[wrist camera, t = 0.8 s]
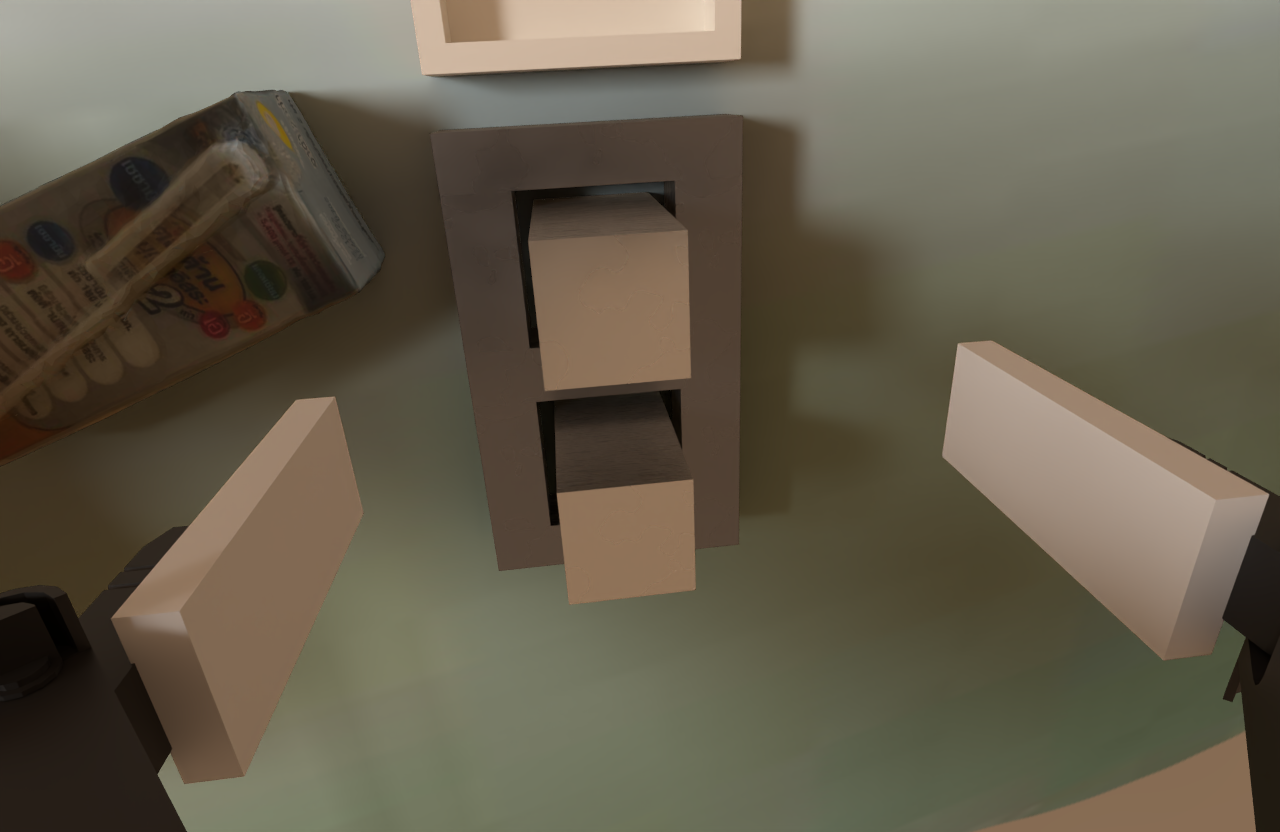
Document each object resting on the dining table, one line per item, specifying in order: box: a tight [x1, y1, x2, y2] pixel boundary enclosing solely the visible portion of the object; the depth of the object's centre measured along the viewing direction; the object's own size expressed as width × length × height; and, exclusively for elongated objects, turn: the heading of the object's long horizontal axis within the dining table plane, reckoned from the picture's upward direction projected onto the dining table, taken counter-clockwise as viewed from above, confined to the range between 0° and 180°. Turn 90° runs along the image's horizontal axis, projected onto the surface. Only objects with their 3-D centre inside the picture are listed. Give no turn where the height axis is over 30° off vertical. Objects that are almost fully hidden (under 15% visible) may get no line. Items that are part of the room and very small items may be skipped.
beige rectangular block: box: [554, 391, 696, 605], centre depth 32 cm, size 5×5×10 cm
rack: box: [430, 114, 743, 571], centre depth 33 cm, size 12×20×3 cm, turn 3°
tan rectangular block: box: [528, 192, 691, 391], centre depth 28 cm, size 5×5×10 cm
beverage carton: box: [0, 90, 385, 466], centre depth 28 cm, size 8×19×7 cm, turn 113°
